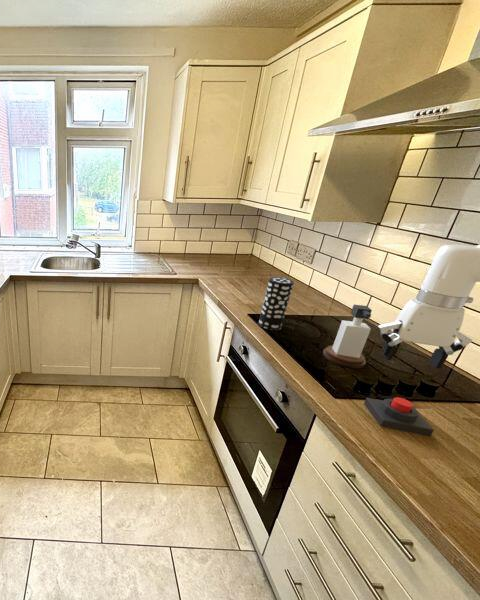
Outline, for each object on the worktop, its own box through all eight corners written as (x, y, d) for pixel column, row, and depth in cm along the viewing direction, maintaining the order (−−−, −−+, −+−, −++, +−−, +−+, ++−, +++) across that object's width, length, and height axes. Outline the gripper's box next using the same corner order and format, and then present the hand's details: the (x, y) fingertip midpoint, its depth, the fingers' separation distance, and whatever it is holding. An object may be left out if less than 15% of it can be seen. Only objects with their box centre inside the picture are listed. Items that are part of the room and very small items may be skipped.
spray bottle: (321, 344, 115) (337, 299, 108) (356, 350, 111) (375, 303, 104) (331, 359, 106) (349, 310, 99) (369, 366, 102) (390, 316, 95)
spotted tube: (263, 319, 137) (274, 275, 130) (284, 326, 132) (297, 281, 124) (254, 324, 133) (265, 279, 125) (276, 332, 127) (289, 285, 119)
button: (404, 405, 82) (408, 398, 81) (413, 414, 79) (416, 408, 78) (387, 402, 83) (390, 395, 82) (395, 411, 80) (398, 404, 79)
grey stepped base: (408, 412, 85) (414, 400, 83) (430, 436, 77) (437, 424, 75) (363, 403, 88) (368, 392, 86) (380, 426, 80) (386, 414, 78)
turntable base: (355, 353, 112) (356, 350, 112) (371, 371, 102) (373, 368, 102) (317, 347, 116) (318, 344, 115) (329, 364, 106) (330, 361, 105)
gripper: (477, 298, 73) (444, 360, 80) (385, 288, 79) (361, 347, 85) (504, 311, 67) (465, 377, 73) (401, 299, 72) (374, 362, 79)
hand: (409, 361), depth 79 cm, fingers open, 9 cm apart
